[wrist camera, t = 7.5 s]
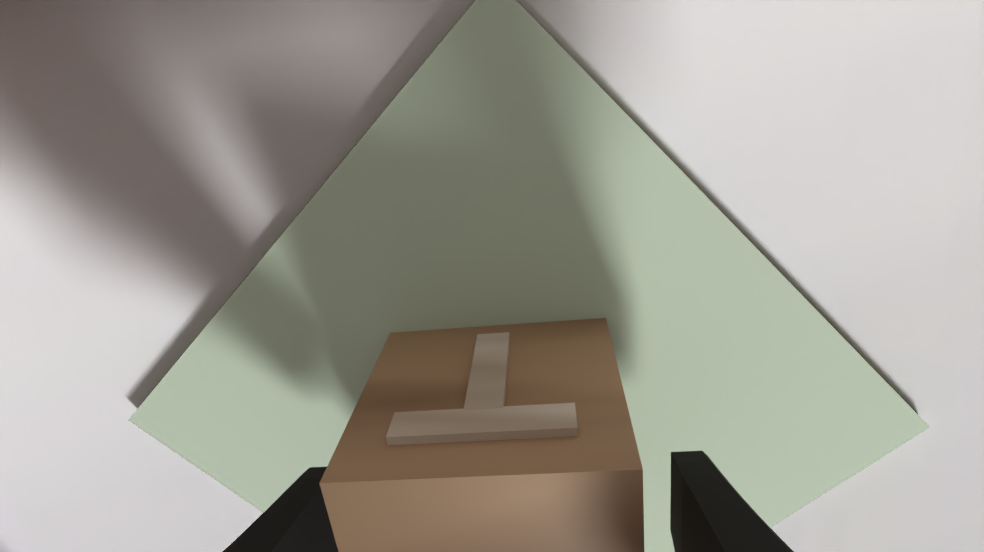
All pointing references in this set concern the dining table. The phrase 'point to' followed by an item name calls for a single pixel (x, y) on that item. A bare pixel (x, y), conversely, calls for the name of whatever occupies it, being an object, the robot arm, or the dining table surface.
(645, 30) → the dining table surface
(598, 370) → the letter cube
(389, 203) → the mat
